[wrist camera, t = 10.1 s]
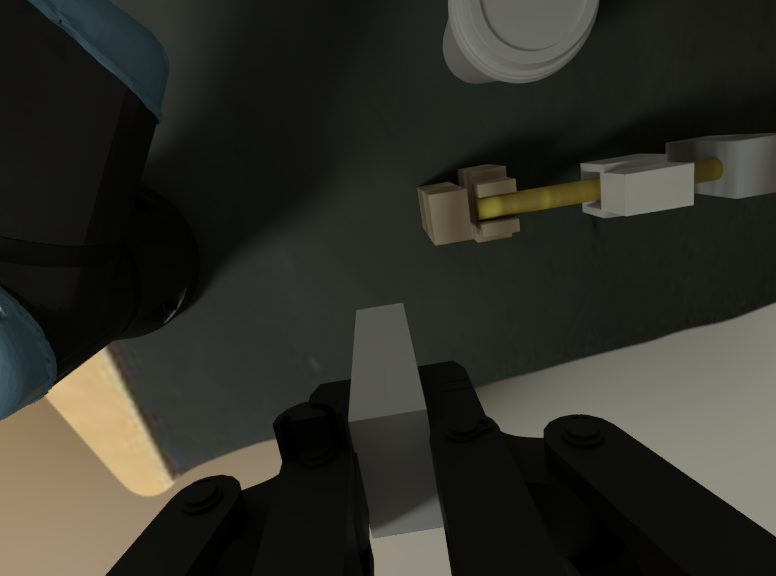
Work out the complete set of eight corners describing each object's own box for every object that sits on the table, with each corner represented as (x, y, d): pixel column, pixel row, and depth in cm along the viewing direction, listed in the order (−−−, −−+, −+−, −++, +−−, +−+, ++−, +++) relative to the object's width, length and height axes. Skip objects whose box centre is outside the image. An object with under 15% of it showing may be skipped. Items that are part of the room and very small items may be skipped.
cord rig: (424, 237, 47) (437, 258, 38) (415, 176, 46) (427, 182, 37) (705, 190, 47) (786, 200, 38) (707, 127, 46) (792, 121, 36)
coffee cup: (553, 27, 43) (647, -36, 28) (490, 123, 45) (548, 109, 30) (465, -41, 41) (517, -144, 27) (404, 62, 43) (422, 17, 29)
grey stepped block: (582, 211, 42) (625, 224, 35) (580, 163, 41) (624, 166, 34) (639, 202, 42) (693, 213, 35) (638, 153, 41) (694, 154, 34)
